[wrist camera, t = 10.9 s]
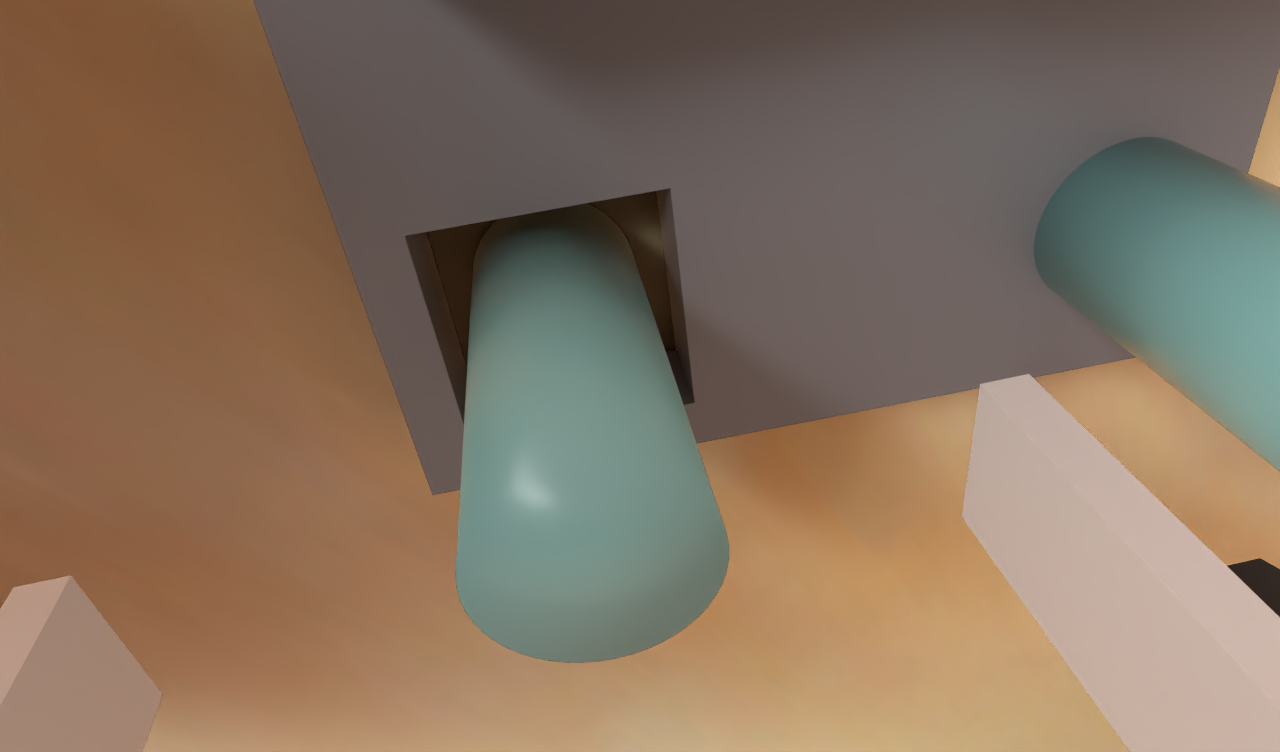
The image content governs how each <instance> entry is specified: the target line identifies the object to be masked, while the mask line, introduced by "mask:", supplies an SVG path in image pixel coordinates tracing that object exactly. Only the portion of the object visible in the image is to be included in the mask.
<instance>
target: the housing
mask: <svg viewBox="0 0 1280 752" xmlns="http://www.w3.org/2000/svg"><path fill="white" fill-rule="evenodd" d="M253 1H254V4H255V6H256V9H257V12H258V15H259V17H260V20H261V23H262V26H263V28H264V31H265V34H266V37H267V39H268V42H269V45H270V48H271V50H272V53H273V56H274V59H275V61H276V64H277V67H278V70H279V73H280V75H281V78H282V81H283V84H284V86H285V89H286V92H287V95H288V97H289V100H290V103H291V106H292V108H293V111H294V114H295V117H296V119H297V122H298V125H299V128H300V130H301V133H302V136H303V139H304V141H305V144H306V147H307V150H308V153H309V155H310V158H311V161H312V164H313V166H314V169H315V172H316V175H317V177H318V180H319V183H320V186H321V188H322V191H323V194H324V197H325V199H326V202H327V205H328V208H329V210H330V213H331V216H332V219H333V221H334V224H335V227H336V230H337V233H338V235H339V238H340V241H341V244H342V246H343V249H344V252H345V255H346V257H347V260H348V263H349V266H350V268H351V271H352V274H353V277H354V279H355V282H356V285H357V288H358V290H359V293H360V296H361V299H362V301H363V304H364V307H365V310H366V313H367V315H368V318H369V321H370V324H371V326H372V329H373V332H374V335H375V337H376V340H377V343H378V346H379V348H380V351H381V354H382V357H383V359H384V362H385V365H386V368H387V370H388V373H389V376H390V379H391V381H392V384H393V387H394V390H395V393H396V395H397V398H398V401H399V404H400V406H401V409H402V412H403V415H404V417H405V420H406V423H407V426H408V428H409V431H410V434H411V437H412V439H413V442H414V445H415V448H416V450H417V453H418V456H419V459H420V461H421V464H422V467H423V470H424V473H425V475H426V478H427V481H428V484H429V486H430V489H431V492H432V495H436V494H441V493H446V492H451V491H456V490H460V487H461V469H462V452H463V434H464V416H465V398H466V381H467V367H466V364H465V360H464V357H463V354H462V350H461V347H460V344H459V340H458V337H457V333H456V330H455V327H454V323H453V320H452V317H451V313H450V310H449V306H448V303H447V300H446V296H445V293H444V290H443V286H442V283H441V280H440V276H439V273H438V269H437V266H436V263H435V259H434V256H433V253H432V249H431V246H430V242H429V239H428V236H427V232H429V231H434V230H440V229H446V228H451V227H457V226H462V225H468V224H474V223H479V222H485V221H490V220H496V219H501V218H507V217H513V216H518V215H524V214H529V213H535V212H541V211H546V210H552V209H557V208H563V207H568V206H574V205H580V204H585V203H591V202H596V201H602V200H607V199H613V198H619V197H624V196H630V195H635V194H641V193H647V192H652V191H656V193H657V201H658V209H659V218H660V226H661V234H662V242H663V250H664V258H665V266H666V274H667V282H668V291H669V299H670V307H671V315H672V323H673V331H674V339H675V347H676V350H675V351H670V352H666V354H667V357H668V360H669V363H670V366H671V369H672V372H673V375H674V378H675V381H676V384H677V387H678V390H679V393H680V396H681V399H682V402H683V405H684V408H685V411H686V414H687V417H688V420H689V423H690V426H691V429H692V431H693V434H694V437H695V440H696V443H701V442H706V441H711V440H716V439H721V438H726V437H732V436H737V435H742V434H747V433H752V432H757V431H762V430H767V429H772V428H777V427H783V426H788V425H793V424H798V423H803V422H808V421H813V420H818V419H823V418H828V417H834V416H839V415H844V414H849V413H854V412H859V411H864V410H869V409H874V408H879V407H885V406H890V405H895V404H900V403H905V402H910V401H915V400H920V399H925V398H930V397H936V396H941V395H946V394H951V393H956V392H961V391H966V390H971V389H976V388H980V384H983V383H988V382H992V381H997V380H1002V379H1007V378H1011V377H1016V376H1021V375H1026V374H1030V375H1031V376H1032V377H1038V376H1043V375H1048V374H1053V373H1058V372H1063V371H1068V370H1073V369H1078V368H1084V367H1089V366H1094V365H1099V364H1104V363H1109V362H1114V361H1119V360H1124V359H1129V358H1135V357H1136V358H1138V359H1139V360H1140V361H1141V362H1143V363H1144V364H1145V365H1147V366H1148V367H1149V368H1150V369H1152V370H1153V371H1154V372H1155V373H1157V374H1158V375H1159V376H1160V377H1162V378H1163V379H1164V380H1165V381H1167V382H1168V383H1169V384H1170V385H1172V386H1173V387H1174V388H1175V389H1177V390H1178V391H1179V392H1180V393H1182V394H1183V395H1184V396H1185V397H1187V398H1188V399H1189V400H1190V401H1192V402H1193V403H1194V404H1195V405H1197V406H1198V407H1199V408H1201V409H1202V410H1203V411H1204V412H1206V413H1207V414H1208V415H1209V416H1211V417H1212V418H1213V419H1214V420H1216V421H1217V422H1218V423H1219V424H1221V425H1222V426H1223V427H1224V428H1226V429H1227V430H1228V431H1229V432H1231V433H1232V434H1233V435H1234V436H1236V437H1237V438H1238V439H1239V440H1241V441H1242V442H1243V443H1244V444H1246V445H1247V446H1248V447H1250V448H1251V449H1252V450H1253V451H1255V452H1256V453H1257V454H1258V455H1260V456H1261V457H1262V458H1263V459H1265V460H1266V461H1267V462H1268V463H1270V464H1271V465H1272V466H1273V467H1275V468H1276V469H1277V470H1278V471H1280V187H1278V186H1276V185H1273V184H1271V183H1269V182H1266V181H1264V180H1262V179H1259V178H1257V177H1255V176H1252V175H1250V174H1248V171H1249V168H1250V165H1251V161H1252V158H1253V155H1254V151H1255V148H1256V145H1257V141H1258V138H1259V134H1260V131H1261V128H1262V124H1263V121H1264V118H1265V114H1266V111H1267V108H1268V104H1269V101H1270V97H1271V94H1272V91H1273V87H1274V84H1275V81H1276V77H1277V74H1278V70H1279V67H1280V0H253Z"/></svg>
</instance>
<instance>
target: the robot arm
mask: <svg viewBox="0 0 1280 752" xmlns="http://www.w3.org/2000/svg"><path fill="white" fill-rule="evenodd" d="M962 518H963V520H964V521H965V523H966V524H967V525H968V527H969V528H970V530H971V531H972V532H973V534H974V535H975V537H976V538H977V539H978V541H979V542H980V544H981V545H982V546H983V548H984V549H985V551H986V552H987V553H988V555H989V556H990V558H991V559H992V560H993V562H994V563H995V564H996V566H997V567H998V569H999V570H1000V571H1001V573H1002V574H1003V576H1004V577H1005V578H1006V580H1007V581H1008V583H1009V584H1010V585H1011V587H1012V588H1013V590H1014V591H1015V592H1016V594H1017V595H1018V597H1019V598H1020V599H1021V601H1022V602H1023V604H1024V605H1025V606H1026V608H1027V609H1028V611H1029V612H1030V613H1031V615H1032V616H1033V618H1034V619H1035V620H1036V622H1037V623H1038V625H1039V626H1040V627H1041V629H1042V630H1043V632H1044V633H1045V634H1046V636H1047V637H1048V639H1049V640H1050V641H1051V643H1052V644H1053V646H1054V647H1055V648H1056V650H1057V651H1058V652H1059V654H1060V655H1061V657H1062V658H1063V659H1064V661H1065V662H1066V664H1067V665H1068V666H1069V668H1070V669H1071V671H1072V672H1073V673H1074V675H1075V676H1076V678H1077V679H1078V680H1079V682H1080V683H1081V685H1082V686H1083V687H1084V689H1085V690H1086V692H1087V693H1088V694H1089V696H1090V697H1091V699H1092V700H1093V701H1094V703H1095V704H1096V706H1097V707H1098V708H1099V710H1100V711H1101V713H1102V714H1103V715H1104V717H1105V718H1106V720H1107V721H1108V722H1109V724H1110V725H1111V727H1112V728H1113V729H1114V731H1115V732H1116V734H1117V735H1118V736H1119V738H1120V739H1121V740H1122V742H1123V743H1124V745H1125V746H1126V747H1127V749H1128V750H1129V752H1280V569H1278V568H1276V567H1275V566H1273V565H1271V564H1269V563H1267V562H1266V561H1264V560H1262V559H1260V558H1259V559H1255V560H1251V561H1246V562H1242V563H1238V564H1233V565H1229V566H1226V565H1225V564H1224V563H1223V562H1222V561H1221V560H1220V559H1219V558H1218V557H1217V556H1216V555H1215V554H1214V553H1213V552H1212V551H1211V550H1210V549H1209V548H1208V547H1207V546H1206V545H1205V544H1204V543H1203V542H1202V541H1201V540H1200V539H1198V538H1197V537H1196V536H1195V535H1194V534H1193V533H1192V532H1191V531H1190V530H1189V529H1188V528H1187V527H1186V526H1185V525H1184V524H1183V523H1182V522H1181V521H1180V520H1179V519H1178V518H1177V517H1176V516H1175V515H1174V514H1173V513H1172V512H1171V511H1170V510H1169V509H1168V508H1167V507H1166V506H1164V505H1163V504H1162V503H1161V502H1160V501H1159V500H1158V499H1157V498H1156V497H1155V496H1154V495H1153V494H1152V493H1151V492H1150V491H1149V490H1148V489H1147V488H1146V487H1145V486H1144V485H1143V484H1142V483H1141V482H1140V481H1139V480H1138V479H1137V478H1136V477H1135V476H1134V475H1133V474H1132V473H1130V472H1129V471H1128V470H1127V469H1126V468H1125V467H1124V466H1123V465H1122V464H1121V463H1120V462H1119V461H1118V460H1117V459H1116V458H1115V457H1114V456H1113V455H1112V454H1111V453H1110V452H1109V451H1108V450H1107V449H1106V448H1105V447H1104V446H1103V445H1102V444H1101V443H1100V442H1099V441H1098V440H1097V439H1095V438H1094V437H1093V436H1092V435H1091V434H1090V433H1089V432H1088V431H1087V430H1086V429H1085V428H1084V427H1083V426H1082V425H1081V424H1080V423H1079V422H1078V421H1077V420H1076V419H1075V418H1074V417H1073V416H1072V415H1071V414H1070V413H1069V412H1068V411H1067V410H1066V409H1065V408H1064V407H1063V406H1061V405H1060V404H1059V403H1058V402H1057V401H1056V400H1055V399H1054V398H1053V397H1052V396H1051V395H1050V394H1049V393H1048V392H1047V391H1046V390H1045V389H1044V388H1043V387H1042V386H1041V385H1040V384H1039V383H1038V382H1037V381H1036V380H1035V379H1034V378H1033V377H1032V376H1031V375H1030V374H1026V375H1021V376H1016V377H1011V378H1007V379H1002V380H997V381H992V382H988V383H983V384H980V388H979V395H978V402H977V410H976V417H975V424H974V432H973V439H972V446H971V453H970V461H969V468H968V475H967V483H966V490H965V497H964V504H963V512H962ZM162 696H163V694H162V693H161V691H160V690H159V689H158V687H157V686H156V685H155V683H154V682H153V681H152V680H151V678H150V677H149V676H148V674H147V673H146V672H145V670H144V669H143V668H142V667H141V665H140V664H139V663H138V661H137V660H136V659H135V658H134V656H133V655H132V654H131V652H130V651H129V650H128V648H127V647H126V646H125V645H124V643H123V642H122V641H121V639H120V638H119V637H118V635H117V634H116V633H115V632H114V630H113V629H112V628H111V626H110V625H109V624H108V623H107V621H106V620H105V619H104V617H103V616H102V615H101V613H100V612H99V611H98V610H97V608H96V607H95V606H94V604H93V603H92V602H91V600H90V599H89V598H88V597H87V595H86V594H85V593H84V591H83V590H82V589H81V587H80V586H79V585H78V584H77V582H76V581H75V580H74V578H73V577H72V576H71V575H70V576H65V577H60V578H55V579H51V580H46V581H41V582H36V583H32V584H27V585H22V586H17V587H13V589H12V590H11V592H10V594H9V595H8V597H7V599H6V600H5V602H4V604H3V605H2V607H1V609H0V752H143V749H144V746H145V743H146V741H147V738H148V735H149V732H150V729H151V727H152V724H153V721H154V718H155V715H156V713H157V710H158V707H159V704H160V701H161V699H162Z"/></svg>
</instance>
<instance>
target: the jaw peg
mask: <svg viewBox="0 0 1280 752" xmlns="http://www.w3.org/2000/svg"><path fill="white" fill-rule="evenodd" d="M728 561H729V543H728V538H727V533H726V530H725V527H724V524H723V521H722V518H721V515H720V512H719V509H718V506H717V503H716V500H715V497H714V494H713V491H712V488H711V485H710V482H709V479H708V476H707V473H706V470H705V467H704V464H703V461H702V458H701V455H700V452H699V449H698V446H697V443H696V440H695V437H694V434H693V431H692V429H691V426H690V423H689V420H688V417H687V414H686V411H685V408H684V405H683V402H682V399H681V396H680V393H679V390H678V387H677V384H676V381H675V378H674V375H673V372H672V369H671V366H670V363H669V360H668V357H667V354H666V351H665V348H664V345H663V342H662V339H661V336H660V333H659V330H658V327H657V324H656V321H655V318H654V315H653V312H652V309H651V306H650V303H649V300H648V297H647V294H646V291H645V288H644V285H643V283H642V280H641V277H640V274H639V271H638V268H637V265H636V262H635V259H634V256H633V253H632V250H631V247H630V245H629V242H628V240H627V238H626V237H625V235H624V233H623V232H622V230H621V229H620V228H619V226H618V225H617V224H616V223H615V222H614V221H613V220H612V219H611V218H610V217H608V216H607V215H606V214H604V213H603V212H602V211H600V210H598V209H596V208H595V207H593V206H591V205H588V204H586V203H585V204H580V205H574V206H568V207H563V208H557V209H552V210H546V211H541V212H535V213H529V214H524V215H518V216H513V217H507V218H501V219H497V220H496V221H495V222H494V223H493V224H492V225H491V226H490V228H489V229H488V230H487V231H486V233H485V234H484V236H483V237H482V239H481V241H480V243H479V245H478V248H477V250H476V254H475V258H474V263H473V274H472V292H471V310H470V327H469V345H468V363H467V381H466V398H465V416H464V434H463V452H462V469H461V487H460V505H459V523H458V540H457V558H456V587H457V591H458V595H459V598H460V601H461V603H462V605H463V607H464V610H465V612H466V613H467V614H468V616H469V617H470V619H471V620H472V621H473V623H474V624H475V625H476V626H477V627H478V628H479V629H480V630H481V631H482V632H483V633H485V634H486V635H487V636H489V637H490V638H491V639H493V640H494V641H496V642H497V643H499V644H501V645H503V646H504V647H506V648H508V649H511V650H513V651H515V652H518V653H520V654H524V655H527V656H530V657H534V658H538V659H543V660H548V661H556V662H568V663H584V662H597V661H604V660H610V659H616V658H620V657H624V656H628V655H632V654H635V653H637V652H640V651H643V650H646V649H648V648H651V647H653V646H655V645H657V644H660V643H662V642H663V641H665V640H667V639H669V638H671V637H672V636H674V635H676V634H677V633H679V632H680V631H681V630H683V629H684V628H686V627H687V626H688V625H689V624H691V623H692V622H693V621H694V620H695V619H696V618H698V617H699V616H700V615H701V613H702V612H703V611H704V610H705V609H706V608H707V607H708V606H709V604H710V603H711V602H712V600H713V599H714V597H715V596H716V595H717V593H718V591H719V589H720V587H721V585H722V583H723V580H724V577H725V574H726V572H727V567H728Z"/></svg>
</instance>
